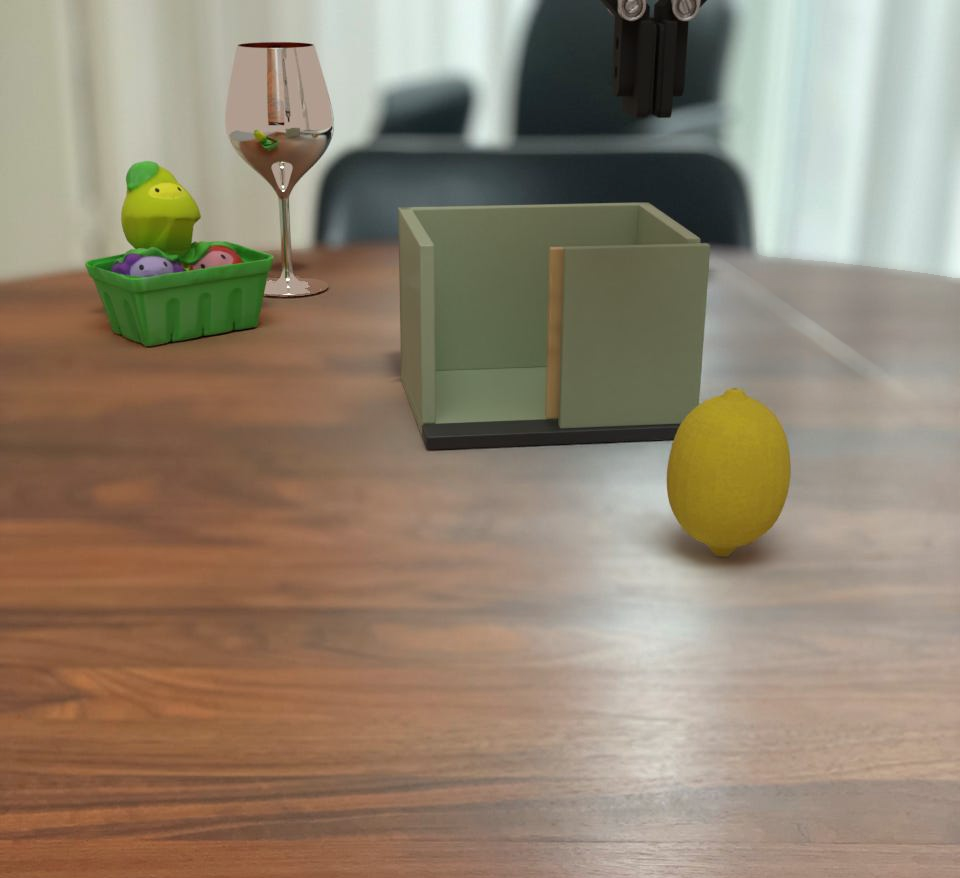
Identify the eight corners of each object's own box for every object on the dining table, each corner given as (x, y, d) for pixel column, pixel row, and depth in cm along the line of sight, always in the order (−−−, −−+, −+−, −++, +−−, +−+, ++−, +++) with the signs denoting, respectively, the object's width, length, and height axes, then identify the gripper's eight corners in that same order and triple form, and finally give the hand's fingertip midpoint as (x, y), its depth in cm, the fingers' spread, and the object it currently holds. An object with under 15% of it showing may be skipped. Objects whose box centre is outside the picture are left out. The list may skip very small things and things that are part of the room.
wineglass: (215, 288, 119) (197, 44, 111) (296, 272, 124) (284, 39, 116) (279, 305, 114) (266, 51, 106) (361, 288, 119) (353, 45, 111)
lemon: (805, 556, 70) (823, 389, 66) (733, 589, 66) (747, 415, 63) (710, 525, 73) (723, 364, 70) (637, 555, 70) (646, 387, 66)
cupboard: (639, 372, 98) (648, 202, 93) (698, 439, 85) (712, 246, 81) (401, 381, 95) (398, 207, 91) (426, 450, 83) (424, 253, 78)
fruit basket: (138, 354, 101) (122, 181, 96) (80, 329, 107) (61, 164, 102) (282, 328, 107) (274, 165, 102) (219, 306, 113) (208, 150, 108)
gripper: (822, -348, 64) (780, 104, 72) (475, -360, 62) (472, 105, 70) (886, -379, 57) (832, 124, 65) (500, -393, 56) (493, 125, 64)
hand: (646, 113), depth 68 cm, fingers closed
